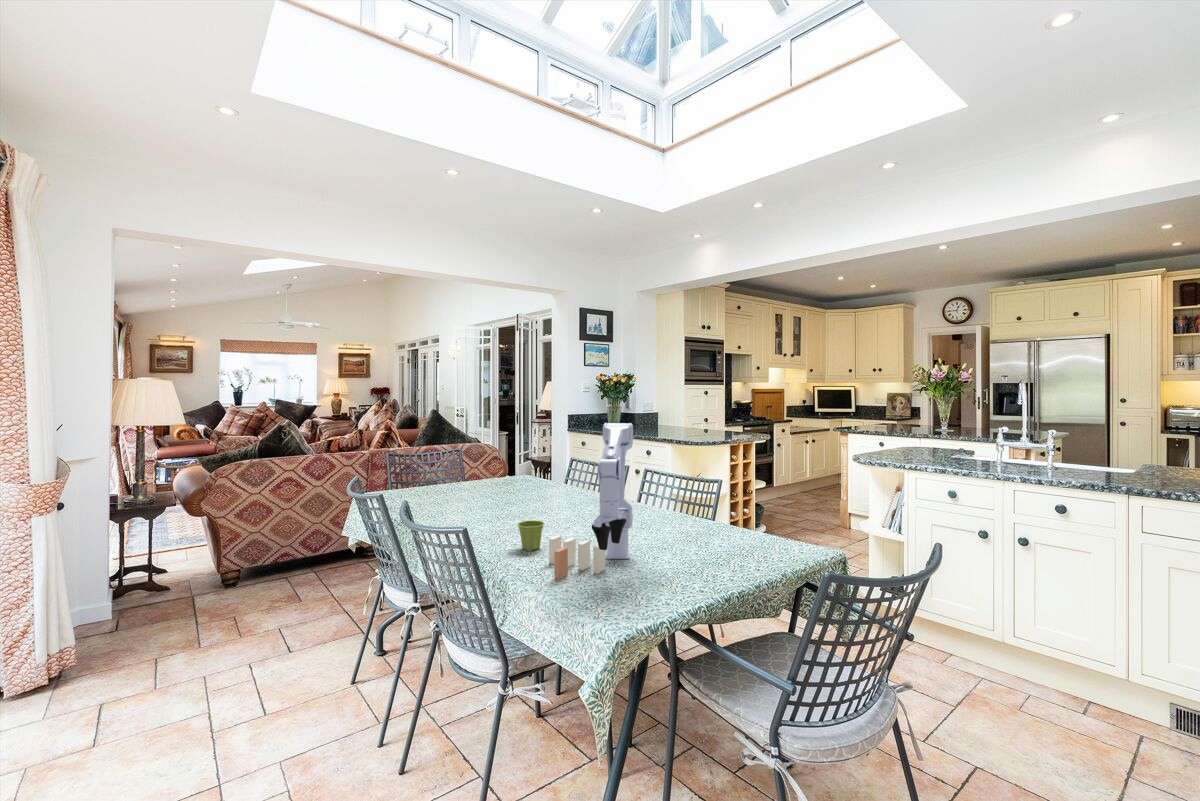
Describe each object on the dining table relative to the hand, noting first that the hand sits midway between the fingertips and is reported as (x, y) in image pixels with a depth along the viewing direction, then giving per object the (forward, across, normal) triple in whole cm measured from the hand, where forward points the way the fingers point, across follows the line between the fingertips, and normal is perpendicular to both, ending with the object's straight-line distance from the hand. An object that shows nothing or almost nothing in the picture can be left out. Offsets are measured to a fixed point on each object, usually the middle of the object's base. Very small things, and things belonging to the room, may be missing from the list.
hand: (609, 546), depth 157 cm
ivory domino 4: (+9, +4, +6) cm, 12 cm away
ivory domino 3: (+9, +4, +11) cm, 15 cm away
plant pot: (+10, +12, +38) cm, 41 cm away
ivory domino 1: (+9, +4, +22) cm, 24 cm away
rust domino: (+9, -6, +13) cm, 17 cm away
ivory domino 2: (+9, +4, +17) cm, 20 cm away
